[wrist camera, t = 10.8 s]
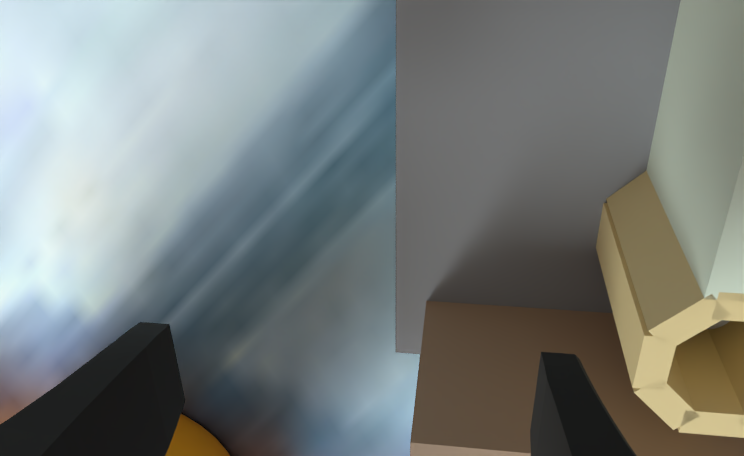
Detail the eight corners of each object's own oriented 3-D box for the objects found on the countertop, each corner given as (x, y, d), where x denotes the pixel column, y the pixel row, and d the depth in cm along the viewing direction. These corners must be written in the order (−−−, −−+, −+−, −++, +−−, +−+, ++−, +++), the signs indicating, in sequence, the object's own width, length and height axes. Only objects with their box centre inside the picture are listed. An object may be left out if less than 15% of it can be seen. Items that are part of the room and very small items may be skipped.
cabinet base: (886, 369, 23) (1028, 564, 17) (398, 333, 25) (372, 498, 19) (1276, -466, 13) (1963, -703, 7) (401, -415, 15) (347, -566, 9)
